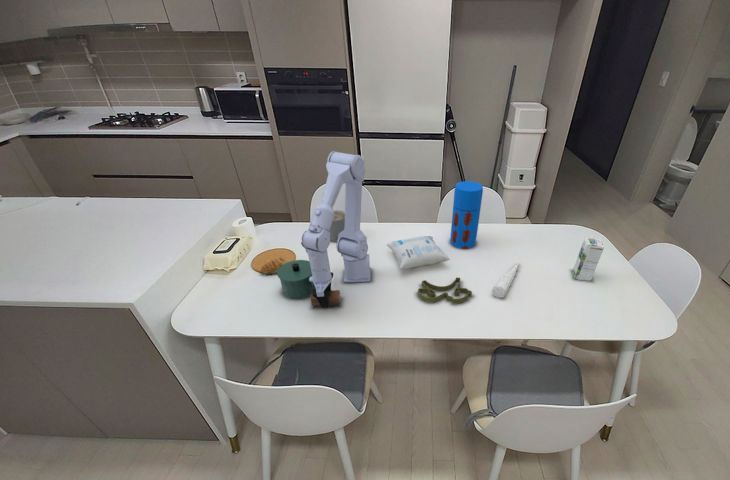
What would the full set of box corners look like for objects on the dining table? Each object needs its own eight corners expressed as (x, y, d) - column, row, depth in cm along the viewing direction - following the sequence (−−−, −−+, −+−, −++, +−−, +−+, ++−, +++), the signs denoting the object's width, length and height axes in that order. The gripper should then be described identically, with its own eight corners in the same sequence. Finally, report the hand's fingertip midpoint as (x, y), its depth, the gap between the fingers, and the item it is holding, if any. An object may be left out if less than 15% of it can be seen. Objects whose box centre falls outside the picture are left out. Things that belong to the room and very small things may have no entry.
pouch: (433, 228, 143) (386, 233, 138) (451, 252, 129) (400, 259, 124) (431, 244, 148) (386, 250, 143) (449, 269, 134) (399, 277, 129)
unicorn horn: (527, 268, 134) (530, 257, 131) (503, 300, 118) (505, 289, 116) (515, 264, 136) (517, 253, 133) (490, 295, 121) (492, 284, 118)
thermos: (477, 249, 145) (485, 191, 130) (451, 249, 145) (456, 191, 130) (473, 236, 154) (480, 181, 139) (449, 236, 154) (454, 180, 139)
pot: (319, 278, 128) (316, 261, 124) (315, 298, 119) (311, 280, 115) (287, 279, 127) (282, 262, 123) (280, 299, 118) (275, 282, 114)
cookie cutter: (464, 281, 127) (465, 276, 126) (473, 302, 118) (474, 297, 116) (415, 285, 125) (415, 280, 124) (421, 306, 116) (421, 302, 114)
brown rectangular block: (340, 298, 119) (339, 289, 117) (340, 306, 115) (338, 297, 113) (313, 300, 118) (312, 291, 116) (312, 308, 115) (310, 299, 112)
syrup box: (572, 270, 133) (583, 237, 124) (588, 272, 132) (601, 238, 123) (574, 279, 128) (586, 245, 120) (591, 281, 127) (605, 247, 119)
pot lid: (317, 261, 125) (316, 254, 123) (313, 282, 115) (311, 274, 113) (281, 263, 124) (279, 255, 122) (273, 284, 114) (271, 276, 112)
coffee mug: (324, 241, 149) (321, 220, 143) (328, 230, 157) (325, 210, 151) (356, 241, 150) (353, 220, 144) (358, 230, 158) (356, 210, 152)
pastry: (265, 278, 128) (263, 269, 126) (259, 270, 132) (256, 261, 130) (290, 269, 133) (287, 260, 130) (283, 261, 137) (280, 253, 135)
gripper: (310, 254, 113) (316, 287, 121) (303, 280, 102) (311, 315, 110) (332, 253, 114) (337, 286, 122) (327, 279, 102) (333, 314, 110)
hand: (326, 300), depth 116 cm, fingers open, 7 cm apart
